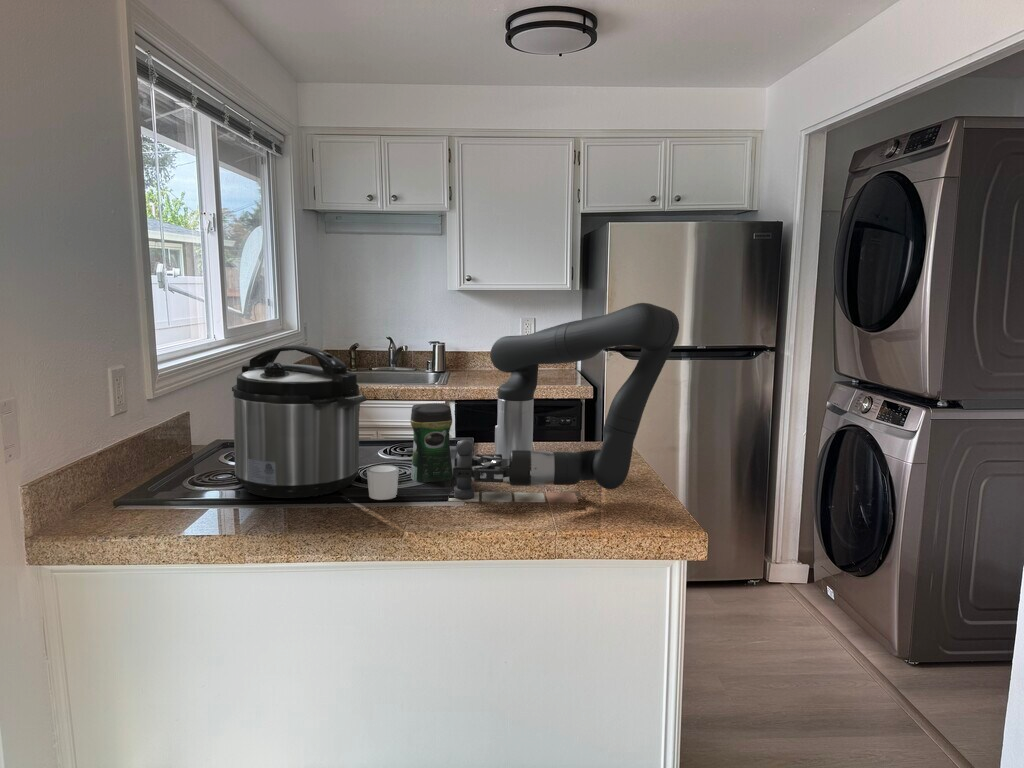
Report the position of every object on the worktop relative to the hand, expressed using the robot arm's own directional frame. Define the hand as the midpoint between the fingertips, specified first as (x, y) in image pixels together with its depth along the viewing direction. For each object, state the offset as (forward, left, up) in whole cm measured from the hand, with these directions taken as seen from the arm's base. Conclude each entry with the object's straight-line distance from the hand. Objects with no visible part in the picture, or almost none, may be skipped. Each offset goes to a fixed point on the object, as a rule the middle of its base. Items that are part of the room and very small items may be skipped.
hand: (454, 467), depth 147 cm
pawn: (+1, +2, -6) cm, 7 cm away
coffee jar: (-15, +4, -8) cm, 18 cm away
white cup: (-9, -12, -8) cm, 17 cm away
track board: (+8, +10, -7) cm, 15 cm away
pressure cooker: (-31, -21, -8) cm, 38 cm away
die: (-4, +19, -7) cm, 20 cm away
